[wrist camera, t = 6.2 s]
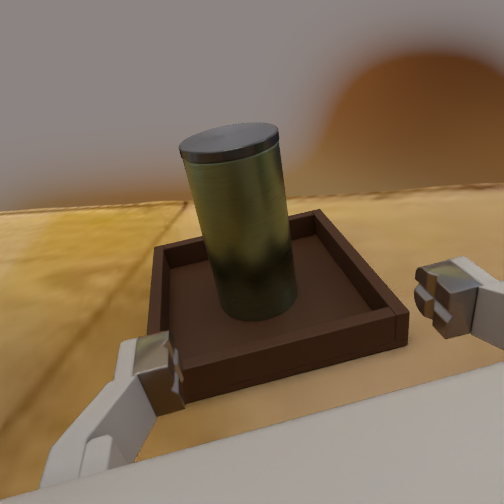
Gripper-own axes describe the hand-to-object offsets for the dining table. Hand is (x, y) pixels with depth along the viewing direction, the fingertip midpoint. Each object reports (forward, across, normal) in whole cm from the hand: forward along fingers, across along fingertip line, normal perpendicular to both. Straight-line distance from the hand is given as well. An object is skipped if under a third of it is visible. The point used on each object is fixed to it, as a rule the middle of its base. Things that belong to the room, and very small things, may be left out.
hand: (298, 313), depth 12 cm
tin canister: (+13, 0, +8) cm, 15 cm away
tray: (+12, 0, +9) cm, 15 cm away
